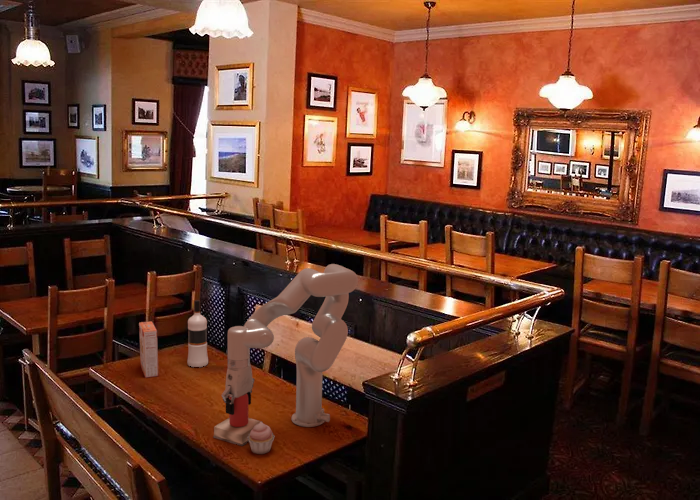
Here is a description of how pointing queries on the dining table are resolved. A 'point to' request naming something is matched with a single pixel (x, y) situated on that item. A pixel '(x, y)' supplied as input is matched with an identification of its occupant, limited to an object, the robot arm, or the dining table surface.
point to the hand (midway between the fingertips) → (238, 408)
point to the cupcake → (261, 438)
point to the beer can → (239, 411)
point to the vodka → (197, 338)
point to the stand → (234, 432)
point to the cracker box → (148, 349)
